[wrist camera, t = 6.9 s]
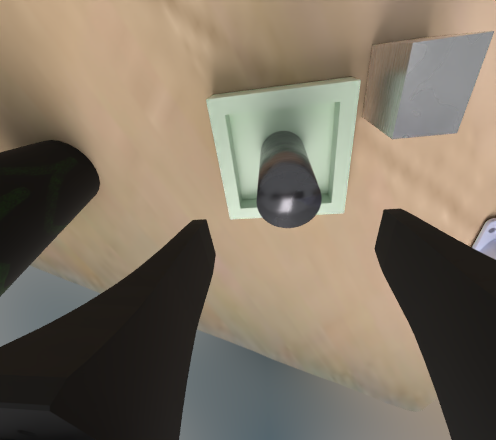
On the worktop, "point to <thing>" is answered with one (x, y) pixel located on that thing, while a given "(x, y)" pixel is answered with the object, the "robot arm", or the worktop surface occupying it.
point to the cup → (39, 200)
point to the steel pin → (286, 182)
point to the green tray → (285, 119)
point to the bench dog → (423, 83)
